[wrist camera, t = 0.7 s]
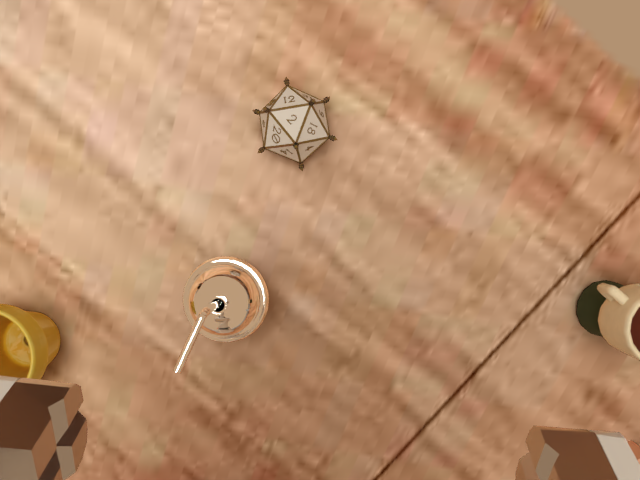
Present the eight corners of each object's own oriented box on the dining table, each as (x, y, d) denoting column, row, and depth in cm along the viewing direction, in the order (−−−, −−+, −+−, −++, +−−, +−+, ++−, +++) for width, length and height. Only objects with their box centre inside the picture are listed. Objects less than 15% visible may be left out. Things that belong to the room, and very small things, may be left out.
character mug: (659, 315, 67) (737, 339, 54) (616, 362, 67) (683, 397, 54) (587, 251, 67) (647, 260, 54) (544, 299, 67) (593, 319, 54)
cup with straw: (294, 293, 68) (275, 325, 48) (233, 341, 68) (189, 393, 48) (247, 235, 68) (208, 243, 48) (187, 284, 68) (123, 312, 48)
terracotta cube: (614, 486, 68) (631, 503, 64) (598, 455, 67) (615, 470, 63) (646, 470, 67) (665, 486, 63) (630, 439, 67) (649, 453, 63)
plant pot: (36, 276, 69) (-15, 286, 59) (95, 342, 69) (54, 363, 59) (-28, 334, 69) (-89, 353, 60) (30, 400, 69) (-20, 430, 60)
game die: (308, 148, 71) (313, 196, 63) (242, 121, 68) (239, 167, 60) (344, 85, 66) (354, 128, 58) (274, 52, 63) (276, 93, 55)
